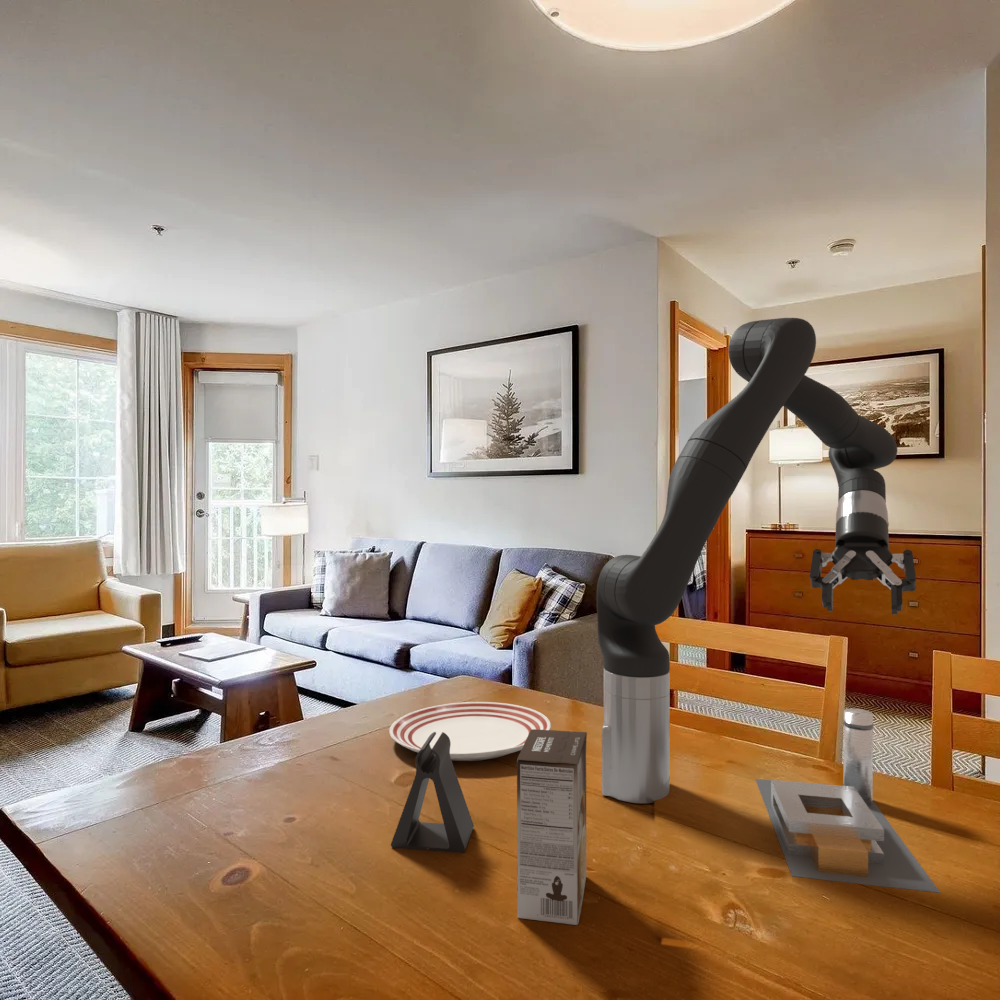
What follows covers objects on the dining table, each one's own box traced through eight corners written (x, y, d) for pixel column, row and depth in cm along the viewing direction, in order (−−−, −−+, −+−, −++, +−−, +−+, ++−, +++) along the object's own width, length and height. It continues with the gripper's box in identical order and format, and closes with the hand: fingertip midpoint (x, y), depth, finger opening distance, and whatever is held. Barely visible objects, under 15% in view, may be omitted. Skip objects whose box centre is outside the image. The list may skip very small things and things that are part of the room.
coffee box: (529, 869, 76) (530, 726, 76) (587, 876, 75) (587, 730, 75) (515, 919, 67) (515, 757, 67) (580, 928, 66) (580, 762, 66)
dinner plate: (354, 749, 113) (354, 729, 113) (457, 707, 135) (457, 690, 135) (489, 790, 97) (489, 766, 97) (579, 734, 120) (579, 715, 120)
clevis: (794, 869, 75) (794, 833, 75) (771, 810, 90) (771, 779, 90) (893, 879, 73) (893, 843, 73) (853, 817, 87) (853, 786, 87)
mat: (792, 880, 74) (792, 875, 74) (755, 782, 100) (755, 778, 100) (940, 897, 71) (940, 892, 71) (863, 791, 96) (863, 788, 96)
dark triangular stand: (474, 828, 86) (474, 733, 86) (464, 853, 80) (465, 751, 80) (404, 823, 87) (404, 730, 87) (390, 847, 81) (390, 747, 81)
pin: (847, 805, 91) (847, 715, 91) (839, 793, 95) (840, 707, 94) (876, 807, 90) (877, 717, 90) (868, 796, 94) (868, 709, 94)
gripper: (811, 511, 112) (806, 593, 102) (912, 509, 104) (917, 598, 95) (815, 539, 116) (811, 620, 107) (912, 539, 109) (917, 626, 100)
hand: (861, 610), depth 101 cm, fingers open, 8 cm apart
